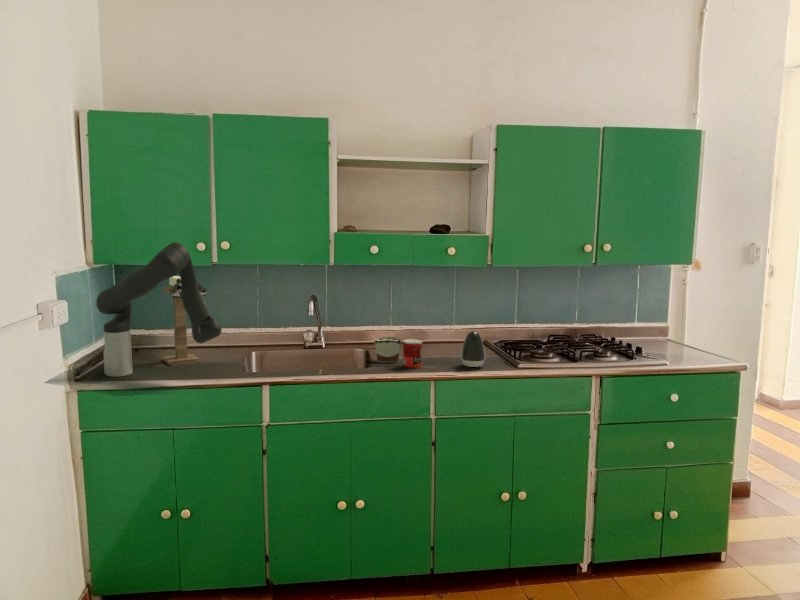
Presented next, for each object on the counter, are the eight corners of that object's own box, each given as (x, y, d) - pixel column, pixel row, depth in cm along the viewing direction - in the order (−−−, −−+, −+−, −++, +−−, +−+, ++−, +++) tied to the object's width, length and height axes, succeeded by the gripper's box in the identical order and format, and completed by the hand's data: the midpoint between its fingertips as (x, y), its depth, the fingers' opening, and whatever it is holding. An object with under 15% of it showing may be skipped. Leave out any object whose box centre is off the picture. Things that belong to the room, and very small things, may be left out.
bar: (192, 288, 232) (191, 280, 231) (183, 289, 230) (182, 280, 229) (178, 283, 249) (177, 275, 248) (169, 284, 246) (169, 276, 246)
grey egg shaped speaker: (461, 369, 236) (462, 333, 234) (459, 363, 246) (460, 328, 244) (486, 369, 236) (487, 333, 234) (483, 363, 246) (484, 329, 244)
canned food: (416, 369, 235) (416, 343, 234) (399, 366, 239) (399, 341, 238) (425, 365, 242) (425, 340, 240) (408, 363, 246) (409, 338, 245)
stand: (199, 362, 244) (197, 287, 240) (170, 365, 237) (167, 289, 233) (191, 356, 254) (189, 285, 250) (163, 360, 247) (160, 286, 243)
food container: (401, 358, 254) (401, 336, 253) (401, 362, 248) (402, 339, 247) (373, 358, 254) (373, 336, 252) (373, 362, 248) (373, 339, 246)
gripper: (214, 296, 226) (201, 271, 237) (177, 298, 218) (166, 272, 229) (211, 311, 230) (199, 286, 241) (175, 313, 222) (164, 288, 232)
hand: (183, 279), depth 235 cm, fingers closed on bar, 3 cm apart
